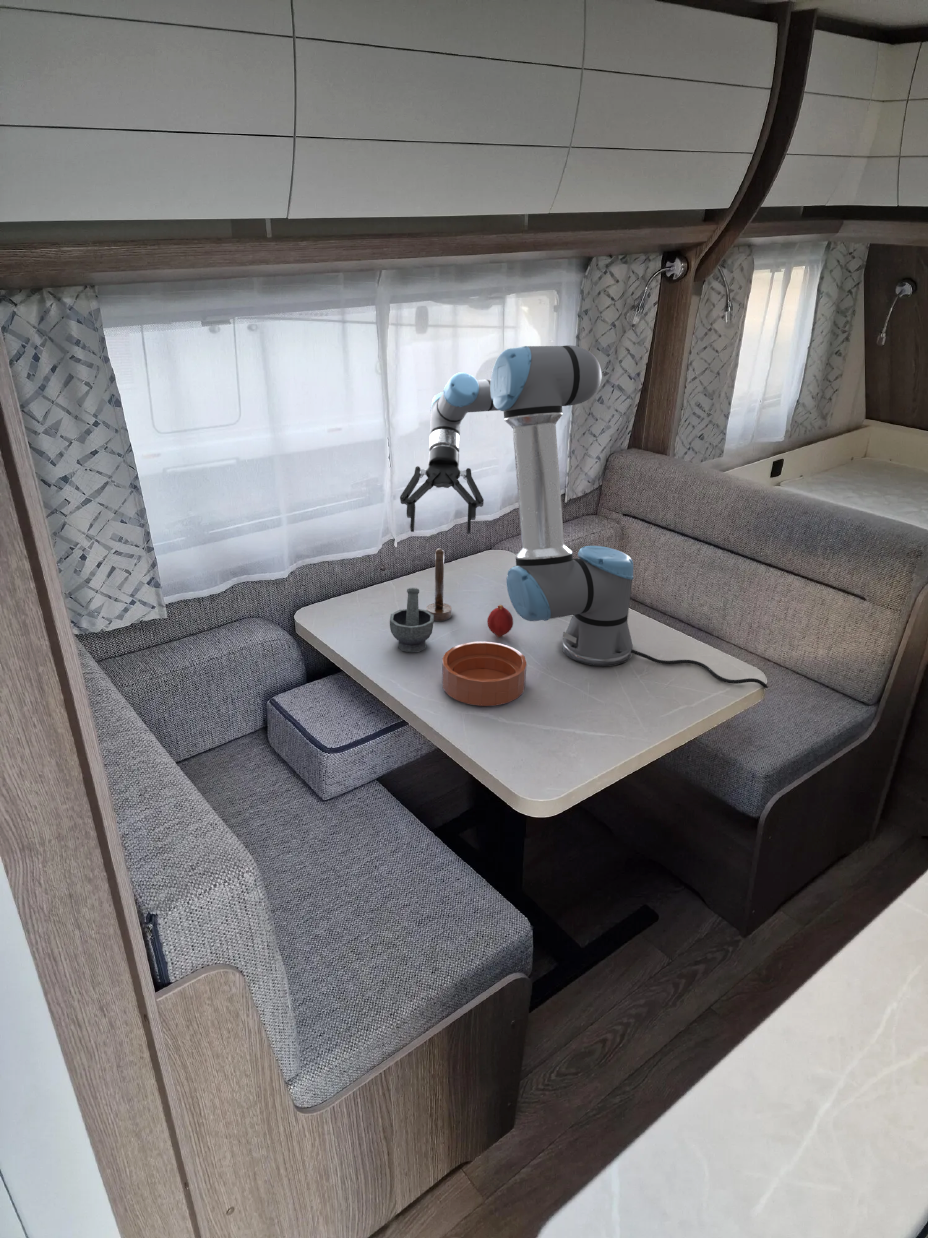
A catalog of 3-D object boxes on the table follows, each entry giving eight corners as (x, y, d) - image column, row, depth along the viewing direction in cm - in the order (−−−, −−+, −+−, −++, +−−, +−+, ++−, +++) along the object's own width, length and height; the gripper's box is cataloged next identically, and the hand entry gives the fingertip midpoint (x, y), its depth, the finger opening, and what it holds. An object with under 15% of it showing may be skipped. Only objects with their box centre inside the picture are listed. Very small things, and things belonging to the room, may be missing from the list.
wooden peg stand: (454, 611, 196) (455, 545, 189) (448, 622, 191) (449, 554, 184) (430, 609, 198) (430, 542, 190) (423, 619, 192) (423, 551, 185)
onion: (491, 629, 188) (492, 597, 185) (515, 633, 187) (517, 601, 183) (483, 639, 183) (484, 607, 180) (508, 644, 182) (509, 611, 178)
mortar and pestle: (432, 656, 176) (432, 606, 170) (388, 655, 175) (387, 605, 170) (434, 633, 186) (434, 584, 181) (393, 632, 186) (392, 584, 180)
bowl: (530, 672, 170) (532, 647, 168) (517, 713, 156) (518, 686, 153) (453, 662, 174) (453, 637, 171) (433, 702, 159) (433, 675, 156)
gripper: (493, 461, 206) (491, 538, 199) (395, 458, 206) (389, 535, 199) (495, 446, 199) (493, 525, 192) (392, 442, 199) (387, 521, 192)
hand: (440, 530), depth 196 cm, fingers open, 13 cm apart
